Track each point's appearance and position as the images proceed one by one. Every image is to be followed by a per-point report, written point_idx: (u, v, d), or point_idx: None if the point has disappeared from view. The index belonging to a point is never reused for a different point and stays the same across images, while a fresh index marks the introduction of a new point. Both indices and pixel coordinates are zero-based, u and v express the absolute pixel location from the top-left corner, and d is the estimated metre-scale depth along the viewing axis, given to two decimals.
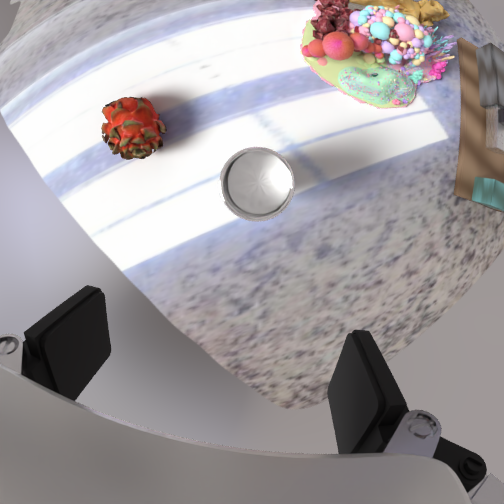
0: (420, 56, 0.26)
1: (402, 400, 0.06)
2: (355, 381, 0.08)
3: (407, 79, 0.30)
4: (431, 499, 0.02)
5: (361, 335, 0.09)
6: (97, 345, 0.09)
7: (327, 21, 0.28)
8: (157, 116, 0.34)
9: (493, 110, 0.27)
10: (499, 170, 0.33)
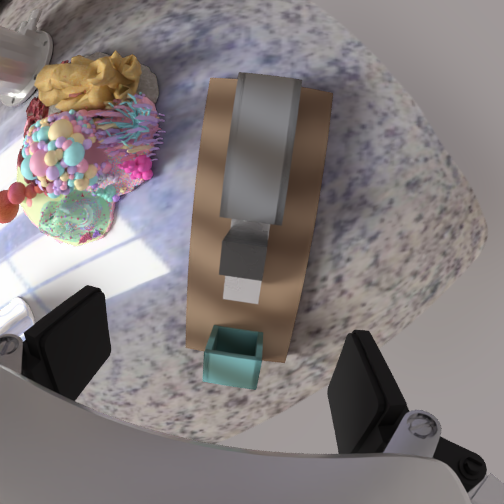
0: (74, 181, 0.23)
1: (402, 400, 0.06)
2: (355, 381, 0.08)
3: (86, 208, 0.27)
4: (431, 499, 0.02)
5: (361, 335, 0.09)
6: (97, 345, 0.09)
7: (20, 156, 0.25)
8: None
9: None
10: (276, 309, 0.30)
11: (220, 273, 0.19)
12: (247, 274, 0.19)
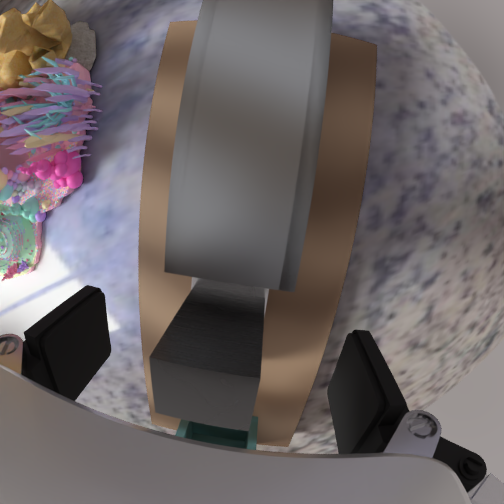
0: None
1: (401, 400, 0.06)
2: (355, 381, 0.08)
3: (3, 232, 0.15)
4: (431, 499, 0.02)
5: (361, 335, 0.09)
6: (97, 345, 0.09)
7: None
8: None
9: None
10: (277, 391, 0.18)
11: (158, 411, 0.07)
12: (215, 420, 0.07)
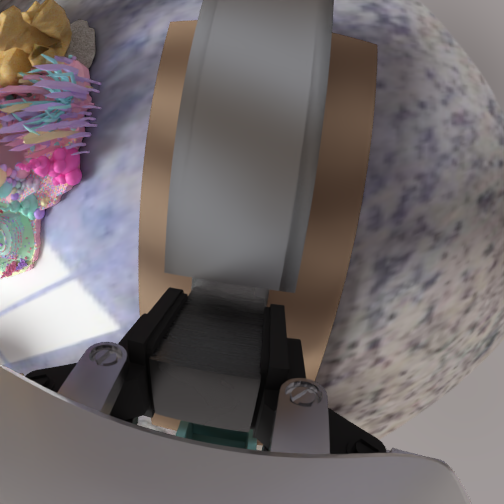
0: None
1: (285, 365, 0.07)
2: None
3: (2, 230, 0.15)
4: (431, 499, 0.02)
5: (273, 308, 0.10)
6: None
7: None
8: None
9: None
10: None
11: (158, 412, 0.07)
12: (215, 421, 0.07)
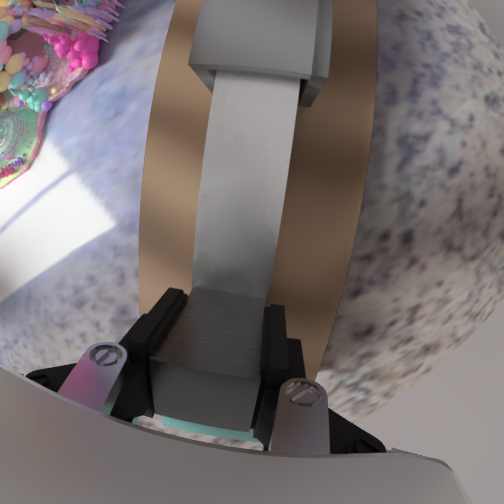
0: None
1: (285, 365, 0.07)
2: None
3: (5, 123, 0.13)
4: (431, 499, 0.02)
5: (273, 308, 0.10)
6: None
7: None
8: None
9: None
10: (302, 291, 0.16)
11: (158, 412, 0.07)
12: (215, 421, 0.07)
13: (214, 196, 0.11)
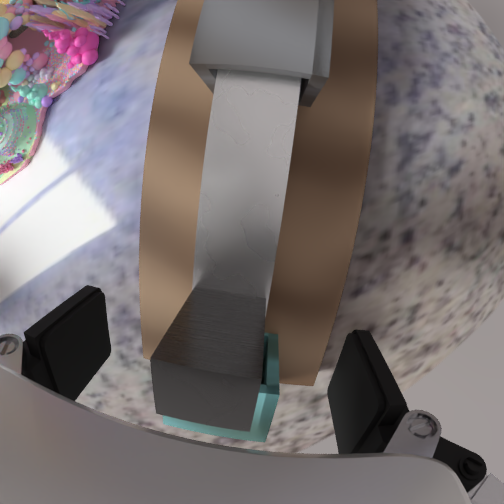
0: None
1: (402, 400, 0.06)
2: (355, 381, 0.08)
3: (5, 119, 0.13)
4: (431, 499, 0.02)
5: (361, 335, 0.09)
6: (97, 345, 0.09)
7: None
8: None
9: None
10: (303, 290, 0.16)
11: (159, 412, 0.07)
12: (216, 420, 0.07)
13: (215, 196, 0.11)
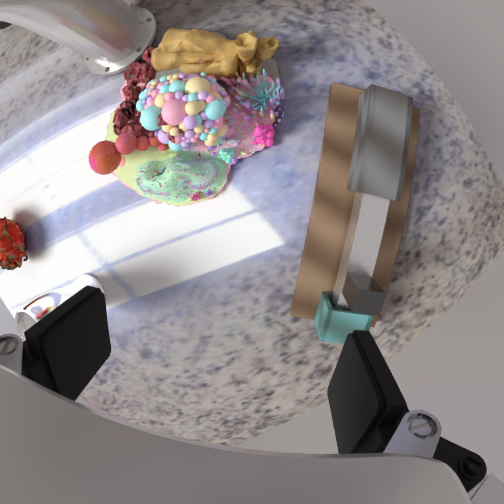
0: (208, 135, 0.28)
1: (402, 400, 0.06)
2: (355, 381, 0.08)
3: (205, 166, 0.32)
4: (431, 499, 0.02)
5: (361, 335, 0.09)
6: (97, 345, 0.09)
7: (120, 113, 0.30)
8: (19, 236, 0.36)
9: (343, 270, 0.31)
10: (374, 277, 0.34)
11: (353, 311, 0.26)
12: (370, 311, 0.26)
13: (359, 239, 0.29)
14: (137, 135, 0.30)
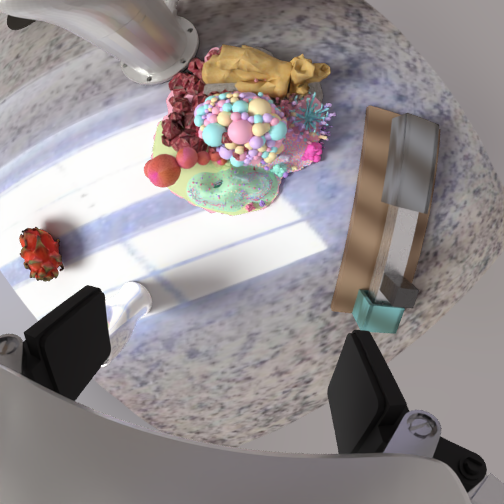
0: (269, 154, 0.31)
1: (402, 400, 0.06)
2: (355, 381, 0.08)
3: (261, 180, 0.35)
4: (431, 499, 0.02)
5: (361, 335, 0.09)
6: (97, 345, 0.09)
7: (171, 125, 0.34)
8: (55, 246, 0.39)
9: (380, 270, 0.35)
10: None
11: (394, 305, 0.30)
12: (406, 305, 0.30)
13: (394, 245, 0.33)
14: (193, 148, 0.33)
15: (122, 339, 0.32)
